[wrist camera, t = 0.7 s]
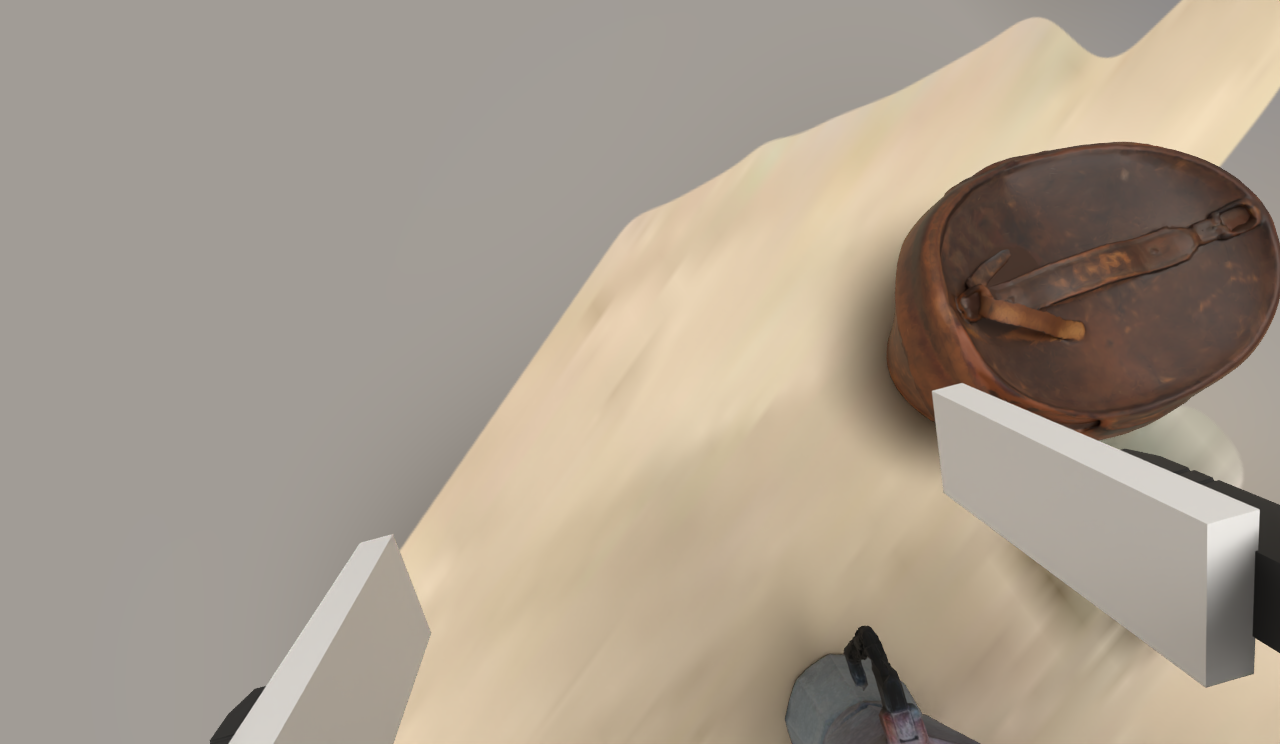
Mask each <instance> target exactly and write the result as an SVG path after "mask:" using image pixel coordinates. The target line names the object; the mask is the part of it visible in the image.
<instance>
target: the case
mask: <svg viewBox="0 0 1280 744" xmlns="http://www.w3.org/2000/svg"><path fill="white" fill-rule="evenodd" d="M895 284H896V287H895V316H894V321H893V326H892V329H891V332H890V336H889V340H888V346H887V364H888V369H889V372H890V375H891V378H892V380H893V382H894V384H895V386H896V388H897V389H898V391H899V392H900V393H901V395H902V396H903V397H904V398H905V399H906V400H907V401H908V402H909V403H910V404H911V405H912V406H913V407H914V408H915V409H916V410H917V411H919V412H920V413H921V414H923V415H924V416H925V417H927V418H929V419H930V420H932V421H934V422H935V414H934V405H933V397H932V391H933V390H937V389H941V388H945V387H948V386H952V385H956V384H960V383H963V384H966V385H968V386H971V387H973V388H975V389H978V390H980V391H982V392H985V393H987V394H989V395H992V396H994V397H996V398H999V399H1001V400H1003V401H1006V402H1008V403H1010V404H1013V405H1015V406H1018V407H1020V408H1022V409H1025V410H1027V411H1029V412H1032V413H1034V414H1036V415H1039V416H1041V417H1043V418H1046V419H1048V420H1050V421H1053V422H1055V423H1058V424H1060V425H1062V426H1065V427H1067V428H1069V429H1072V430H1074V431H1076V432H1079V433H1081V434H1083V435H1086V436H1088V437H1090V438H1093V439H1095V440H1097V441H1098V440H1103V439H1107V438H1111V437H1115V436H1119V435H1123V434H1126V433H1129V432H1131V431H1134V430H1136V429H1139V428H1141V427H1144V426H1146V425H1148V424H1150V423H1152V422H1154V421H1156V420H1158V419H1160V418H1161V417H1163V416H1165V415H1166V414H1168V413H1170V412H1171V411H1173V410H1174V409H1176V408H1177V407H1179V406H1181V405H1182V404H1184V403H1185V402H1187V401H1188V400H1189V399H1190V398H1191V397H1192V396H1194V395H1195V394H1197V393H1199V392H1201V391H1202V390H1204V389H1205V388H1207V387H1209V386H1210V385H1212V384H1213V383H1215V382H1217V381H1218V380H1220V379H1222V378H1223V377H1224V376H1226V375H1227V374H1229V373H1230V372H1231V371H1233V370H1234V369H1236V368H1237V367H1238V366H1239V365H1241V364H1242V363H1243V362H1244V361H1245V360H1246V359H1247V358H1248V357H1249V356H1250V355H1251V353H1252V352H1253V351H1254V350H1255V349H1256V347H1257V346H1258V345H1259V343H1260V342H1261V340H1262V339H1263V337H1264V335H1265V334H1266V332H1267V330H1268V328H1269V326H1270V324H1271V322H1272V320H1273V318H1274V315H1275V313H1276V310H1277V306H1278V303H1279V299H1280V243H1279V239H1278V236H1277V232H1276V229H1275V226H1274V222H1273V220H1272V218H1271V216H1270V214H1269V212H1268V211H1267V209H1266V208H1265V206H1264V205H1263V203H1262V202H1261V201H1260V199H1259V198H1258V197H1257V196H1256V195H1255V194H1254V193H1253V192H1252V191H1251V190H1250V189H1249V188H1248V187H1246V186H1245V185H1244V184H1243V183H1242V182H1241V181H1240V180H1239V179H1237V178H1236V177H1234V176H1233V175H1231V174H1230V173H1228V172H1227V171H1225V170H1223V169H1222V168H1220V167H1218V166H1216V165H1214V164H1212V163H1210V162H1208V161H1206V160H1203V159H1201V158H1198V157H1195V156H1192V155H1189V154H1186V153H1183V152H1180V151H1176V150H1172V149H1167V148H1163V147H1159V146H1153V145H1149V144H1142V143H1134V142H1111V143H1098V144H1090V145H1079V146H1073V147H1068V148H1062V149H1056V150H1051V151H1042V152H1039V153H1035V154H1029V155H1024V156H1018V157H1013V158H1009V159H1006V160H1003V161H1000V162H997V163H994V164H992V165H990V166H987V167H985V168H984V169H982V170H981V171H979V172H978V173H976V174H975V175H973V176H972V177H970V178H968V179H965V180H964V181H962V182H960V183H959V184H957V185H956V186H954V187H952V188H951V189H949V190H948V191H947V192H946V193H945V195H944V197H943V198H941V199H940V200H939V201H938V202H937V203H936V204H935V205H934V206H932V207H931V208H930V209H929V210H928V211H927V212H926V213H925V214H924V215H923V216H922V217H921V218H920V219H919V220H918V222H917V223H916V224H915V225H914V227H913V228H912V229H911V231H910V232H909V234H908V235H907V237H906V238H905V240H904V242H903V244H902V247H901V251H900V255H899V259H898V263H897V272H896V283H895Z"/></svg>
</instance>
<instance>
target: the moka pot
mask: <svg viewBox="0 0 1280 744" xmlns="http://www.w3.org/2000/svg"><path fill="white" fill-rule="evenodd" d="M785 721H786V725H787V730H788V733H789V736H790V738H791V742H792V744H980V743H978V742H976V741H975V740H972V739H970V738H968V737H966V736H965V735H963V734H961V733H959V732H957V731H955V730H953V729H951V728H949V727H947V726H945V725H944V724H942V723H940V722H938V721H936V720H934V719H932V718H931V717H929V716H927V715H923V714H922V713H921V711H920V709H919V708H918V706H917V704H916V702H915V701H914V699H913V697H912V695H911V694H910V692H909V690H908V689H907V687H906V685H905V684H904V683H903V682H902V681H900V679H899V677H898V674H897V672H896V671H895V670H894V669H893V668H892V667H891V666H890V663H888V659H887V656H886V654H885V652H884V649H883V647H882V644H881V642H880V640H879V638H878V636H877V635H876V633H875V632H874V631H873V629H872V628H871V627H869V626H861V627H859V628H858V630H857V631H856V633H855V637H853V639H852V640H851V641H850V643H848V645H847V646H846V647H845V648H844V655H836V654H828V655H826V656H825V657H823V658H821V659H820V660H818V661H817V662H816V663H814V664H812V665H811V666H810V667H809V668H808V669H806V670H805V671H804V672H803V673H802V674H801V675H800V676H799V677H798V679H797V680H796V682H795V684H794V686H793V690H792V693H791V697H790V700H789V704H788V708H787V713H786V716H785Z"/></svg>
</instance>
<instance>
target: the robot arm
mask: <svg viewBox="0 0 1280 744" xmlns="http://www.w3.org/2000/svg"><path fill="white" fill-rule="evenodd" d="M932 397H933V405H934V414H935V423H936V431H937V440H938V449H939V457H940V466H941V474H942V483H943V492H944V493H945V494H946V495H947V496H949V497H950V498H951V499H953V500H954V501H955V502H957V503H958V504H959V505H961V506H962V507H963V508H965V509H966V510H967V511H969V512H970V513H971V514H973V515H974V516H975V517H977V518H978V519H979V520H981V521H982V522H984V523H985V524H986V525H988V526H989V527H990V528H992V529H993V530H994V531H996V532H997V533H998V534H1000V535H1001V536H1002V537H1004V538H1005V539H1006V540H1008V541H1009V542H1010V543H1012V544H1013V545H1014V546H1016V547H1017V548H1018V549H1020V550H1021V551H1023V552H1024V553H1025V554H1027V555H1028V556H1029V557H1031V558H1032V559H1033V560H1035V561H1036V562H1037V563H1039V564H1040V565H1041V566H1043V567H1044V568H1045V569H1047V570H1048V571H1049V572H1051V573H1052V574H1053V575H1055V576H1056V577H1057V578H1059V579H1060V580H1062V581H1063V582H1064V583H1066V584H1067V585H1068V586H1070V587H1071V588H1072V589H1074V590H1075V591H1076V592H1078V593H1079V594H1080V595H1082V596H1083V597H1084V598H1086V599H1087V600H1088V601H1090V602H1091V603H1092V604H1094V605H1095V606H1096V607H1098V608H1099V609H1101V610H1102V611H1103V612H1105V613H1106V614H1107V615H1109V616H1110V617H1111V618H1113V619H1114V620H1115V621H1117V622H1118V623H1119V624H1121V625H1122V626H1123V627H1125V628H1126V629H1127V630H1129V631H1130V632H1131V633H1133V634H1134V635H1135V636H1137V637H1138V638H1140V639H1141V640H1142V641H1144V642H1145V643H1146V644H1148V645H1149V646H1150V647H1152V648H1153V649H1154V650H1156V651H1157V652H1158V653H1160V654H1161V655H1162V656H1164V657H1165V658H1166V659H1168V660H1169V661H1170V662H1172V663H1173V664H1174V665H1176V666H1177V667H1179V668H1180V669H1181V670H1183V671H1184V672H1185V673H1187V674H1188V675H1189V676H1191V677H1192V678H1193V679H1195V680H1196V681H1197V682H1199V683H1200V684H1201V685H1203V686H1204V687H1205V688H1206V687H1210V686H1213V685H1217V684H1220V683H1223V682H1227V681H1230V680H1234V679H1237V678H1241V677H1244V676H1247V675H1251V674H1254V655H1255V638H1256V639H1258V640H1259V641H1261V642H1263V643H1264V644H1266V645H1268V646H1269V647H1271V648H1272V649H1274V650H1276V651H1277V652H1279V653H1280V505H1279V504H1276V503H1274V502H1271V501H1269V500H1266V499H1264V498H1261V497H1259V496H1256V495H1254V494H1251V493H1249V492H1247V491H1244V490H1242V489H1239V488H1237V487H1234V486H1232V485H1230V484H1227V483H1225V482H1222V481H1220V480H1218V481H1214V480H1213V478H1212V477H1210V476H1207V475H1205V474H1202V473H1200V472H1198V471H1195V470H1193V471H1190V470H1189V468H1188V467H1185V466H1183V465H1180V464H1178V463H1175V462H1173V461H1171V460H1168V459H1166V458H1163V457H1161V456H1157V455H1152V454H1147V453H1143V452H1138V451H1133V450H1128V449H1122V450H1119V449H1116V448H1114V447H1112V446H1109V445H1107V444H1105V443H1102V442H1100V441H1097V440H1095V439H1093V438H1090V437H1088V436H1086V435H1083V434H1081V433H1079V432H1076V431H1074V430H1072V429H1069V428H1067V427H1065V426H1062V425H1060V424H1058V423H1055V422H1053V421H1050V420H1048V419H1046V418H1043V417H1041V416H1039V415H1036V414H1034V413H1032V412H1029V411H1027V410H1025V409H1022V408H1020V407H1018V406H1015V405H1013V404H1010V403H1008V402H1006V401H1003V400H1001V399H999V398H996V397H994V396H992V395H989V394H987V393H985V392H982V391H980V390H978V389H975V388H973V387H971V386H968V385H966V384H963V383H960V384H956V385H952V386H948V387H945V388H941V389H937V390H933V391H932ZM430 635H431V631H430V628H429V626H428V623H427V621H426V618H425V616H424V613H423V610H422V608H421V605H420V603H419V600H418V597H417V595H416V592H415V590H414V587H413V585H412V582H411V579H410V577H409V574H408V572H407V569H406V566H405V564H404V561H403V559H402V556H401V554H400V551H399V548H398V546H397V543H396V541H395V538H394V535H393V534H392V535H388V536H384V537H380V538H377V539H373V540H369V541H366V542H361V543H360V544H359V545H358V547H357V548H356V550H355V552H354V553H353V555H352V556H351V558H350V559H349V561H348V562H347V564H346V565H345V567H344V568H343V570H342V571H341V573H340V574H339V576H338V578H337V579H336V581H335V582H334V584H333V585H332V587H331V588H330V590H329V591H328V593H327V594H326V596H325V598H324V599H323V600H322V602H321V604H320V605H319V607H318V608H317V610H316V611H315V613H314V614H313V616H312V617H311V619H310V620H309V622H308V623H307V625H306V626H305V628H304V629H303V631H302V632H301V634H300V636H299V637H298V638H297V640H296V642H295V643H294V645H293V646H292V648H291V649H290V651H289V652H288V654H287V655H286V657H285V658H284V660H283V661H282V663H281V665H280V666H279V668H278V669H277V671H276V672H275V674H274V675H273V677H272V678H271V680H270V681H269V683H268V684H267V686H264V687H260V688H257V689H254V690H253V691H252V692H251V693H250V694H249V695H248V696H247V697H246V698H245V699H244V700H243V701H242V702H241V703H240V704H239V705H237V707H235V708H234V709H233V710H232V711H231V712H230V713H229V714H228V715H227V717H226V718H225V720H224V721H223V722H222V724H221V725H220V727H219V728H218V730H217V731H216V732H215V734H214V736H213V737H212V738H211V740H210V744H393V743H394V740H395V737H396V734H397V731H398V728H399V725H400V722H401V720H402V717H403V714H404V711H405V708H406V705H407V702H408V699H409V696H410V693H411V690H412V687H413V685H414V682H415V679H416V676H417V673H418V670H419V667H420V664H421V661H422V658H423V655H424V652H425V649H426V647H427V644H428V641H429V638H430Z"/></svg>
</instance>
